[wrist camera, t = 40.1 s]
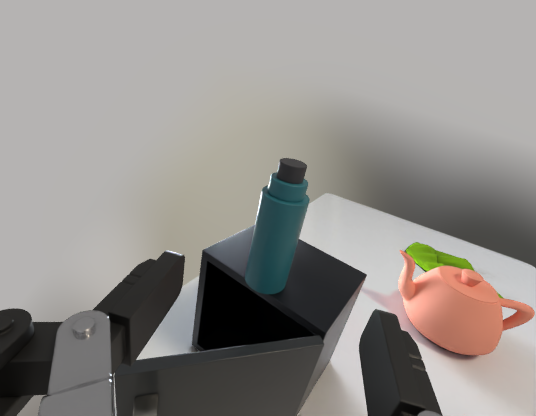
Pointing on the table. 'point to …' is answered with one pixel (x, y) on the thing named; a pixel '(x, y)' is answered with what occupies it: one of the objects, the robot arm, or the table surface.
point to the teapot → (457, 308)
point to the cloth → (435, 258)
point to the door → (220, 381)
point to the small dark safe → (273, 300)
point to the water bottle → (277, 227)
